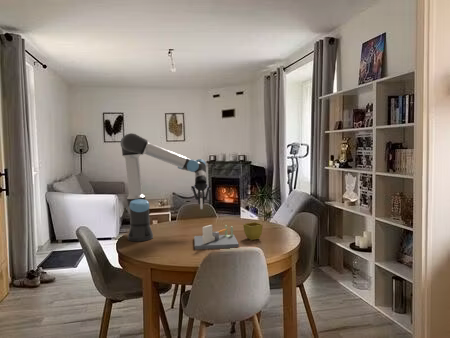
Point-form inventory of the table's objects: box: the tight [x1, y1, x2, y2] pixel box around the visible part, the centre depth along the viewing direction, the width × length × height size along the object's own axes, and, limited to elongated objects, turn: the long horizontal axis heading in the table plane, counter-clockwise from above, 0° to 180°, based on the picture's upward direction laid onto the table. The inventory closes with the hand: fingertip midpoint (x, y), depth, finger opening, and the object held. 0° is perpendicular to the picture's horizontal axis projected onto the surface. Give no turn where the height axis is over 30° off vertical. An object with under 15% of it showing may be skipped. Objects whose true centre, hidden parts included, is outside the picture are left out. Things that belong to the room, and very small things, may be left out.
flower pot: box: [242, 221, 263, 241], centre depth 215 cm, size 9×9×9 cm
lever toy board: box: [193, 224, 240, 250], centre depth 206 cm, size 24×22×8 cm
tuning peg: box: [201, 224, 228, 244], centre depth 205 cm, size 22×4×9 cm, turn 146°
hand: (201, 207), depth 223 cm, fingers closed
